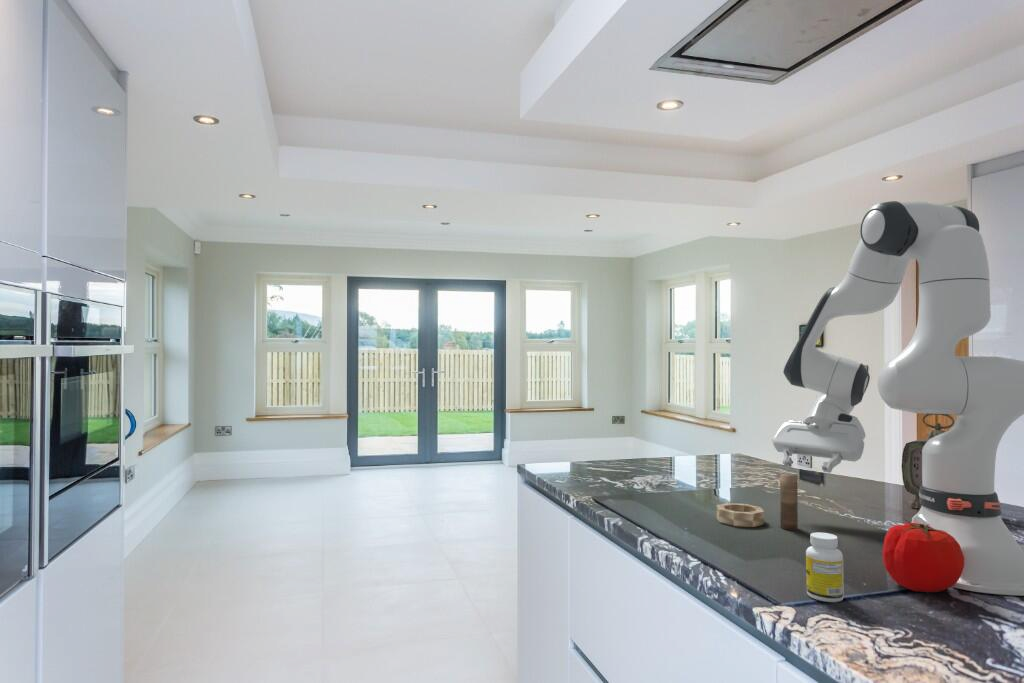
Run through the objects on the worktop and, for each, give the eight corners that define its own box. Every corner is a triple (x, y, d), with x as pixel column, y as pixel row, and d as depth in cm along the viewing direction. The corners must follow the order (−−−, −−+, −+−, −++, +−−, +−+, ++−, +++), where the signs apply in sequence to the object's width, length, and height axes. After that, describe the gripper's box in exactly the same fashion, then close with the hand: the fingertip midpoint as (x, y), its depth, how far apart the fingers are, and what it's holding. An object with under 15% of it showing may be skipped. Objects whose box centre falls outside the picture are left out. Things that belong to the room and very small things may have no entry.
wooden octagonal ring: (766, 527, 143) (766, 514, 143) (720, 525, 145) (720, 512, 145) (758, 516, 153) (758, 504, 153) (715, 514, 155) (715, 502, 155)
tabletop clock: (901, 507, 163) (900, 411, 164) (912, 502, 169) (911, 409, 170) (969, 518, 153) (968, 415, 153) (978, 512, 159) (977, 413, 159)
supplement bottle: (811, 588, 105) (810, 529, 106) (847, 596, 102) (846, 535, 102) (802, 597, 101) (801, 536, 101) (839, 606, 98) (838, 542, 98)
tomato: (882, 572, 113) (882, 510, 113) (961, 585, 107) (960, 519, 107) (882, 594, 103) (881, 525, 103) (968, 608, 97) (967, 535, 97)
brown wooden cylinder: (799, 530, 141) (799, 476, 141) (782, 529, 141) (782, 476, 142) (795, 526, 144) (795, 473, 145) (778, 525, 145) (778, 473, 145)
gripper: (780, 411, 161) (759, 453, 155) (864, 418, 145) (845, 465, 139) (789, 428, 164) (769, 469, 158) (873, 436, 148) (854, 483, 141)
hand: (805, 467), depth 148 cm, fingers open, 8 cm apart
